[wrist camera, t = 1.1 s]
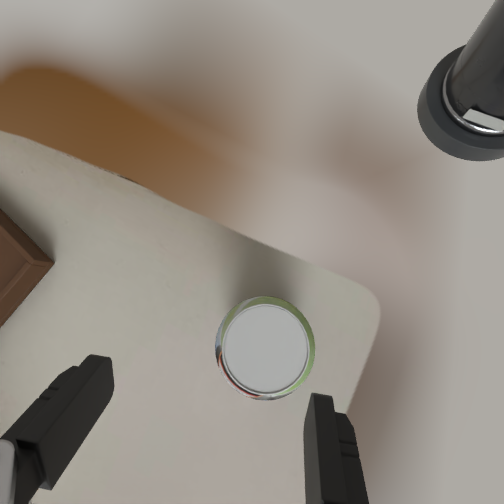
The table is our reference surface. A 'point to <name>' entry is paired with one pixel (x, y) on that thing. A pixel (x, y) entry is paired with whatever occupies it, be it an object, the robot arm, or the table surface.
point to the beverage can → (265, 348)
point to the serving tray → (18, 266)
